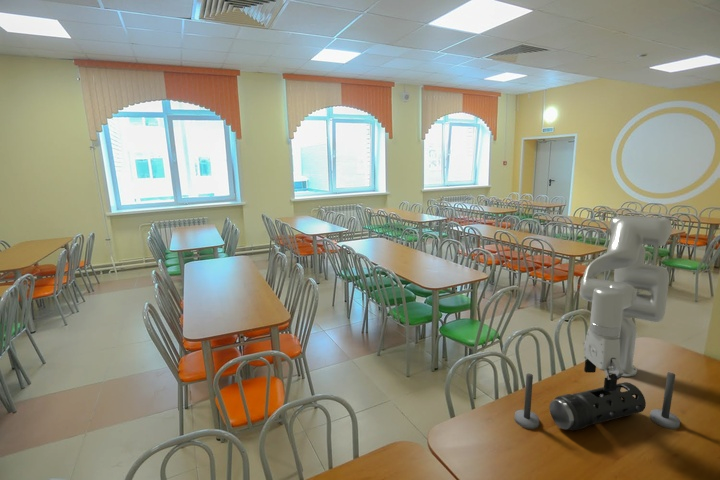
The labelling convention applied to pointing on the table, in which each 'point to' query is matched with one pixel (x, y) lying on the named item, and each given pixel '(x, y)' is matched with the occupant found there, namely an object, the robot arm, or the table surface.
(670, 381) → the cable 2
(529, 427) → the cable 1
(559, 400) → the muzzle brake
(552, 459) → the table surface
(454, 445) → the table surface
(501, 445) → the table surface
